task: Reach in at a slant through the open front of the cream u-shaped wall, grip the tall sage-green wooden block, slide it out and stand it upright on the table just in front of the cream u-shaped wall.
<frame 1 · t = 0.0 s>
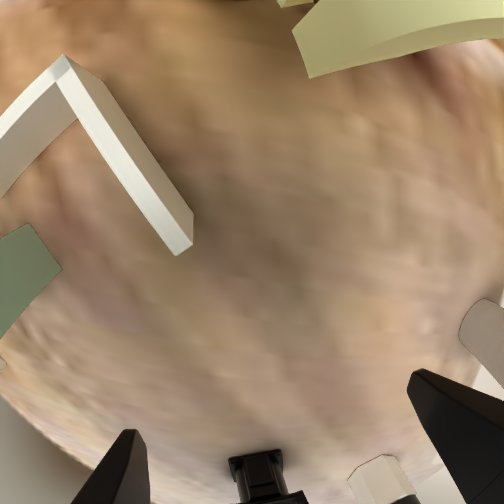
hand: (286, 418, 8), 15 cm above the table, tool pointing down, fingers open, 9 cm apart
jar: (370, 467, 38), on the table
cream u-shaped wall: (29, 262, 19), on the table
coffee cup: (473, 320, 31), on the table
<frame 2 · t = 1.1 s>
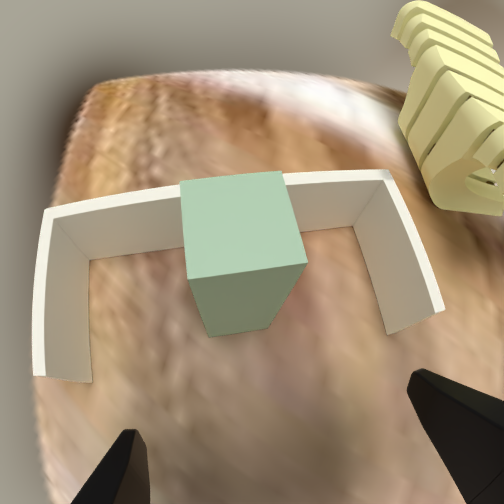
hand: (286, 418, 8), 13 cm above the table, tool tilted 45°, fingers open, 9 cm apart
cream u-shaped wall: (233, 304, 23), on the table
block: (235, 275, 18), in the cream u-shaped wall
slatted curved stool: (448, 171, 33), on the table
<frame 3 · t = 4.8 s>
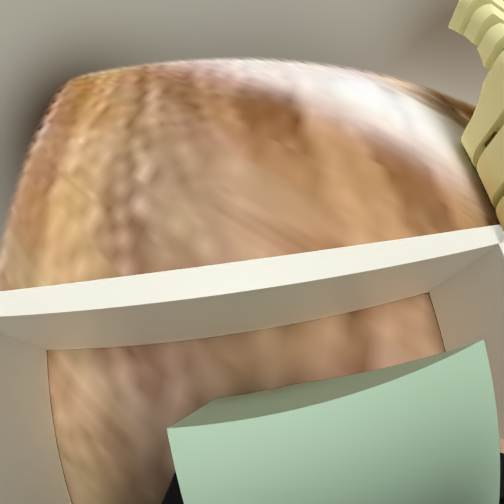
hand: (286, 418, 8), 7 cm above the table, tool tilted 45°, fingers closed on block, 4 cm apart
cream u-shaped wall: (267, 432, 13), on the table
block: (291, 456, 8), in the cream u-shaped wall, touching gripper
when the fingers open (8 cm above the table, at t = 8.3 s): block drops 1 cm, on the table.
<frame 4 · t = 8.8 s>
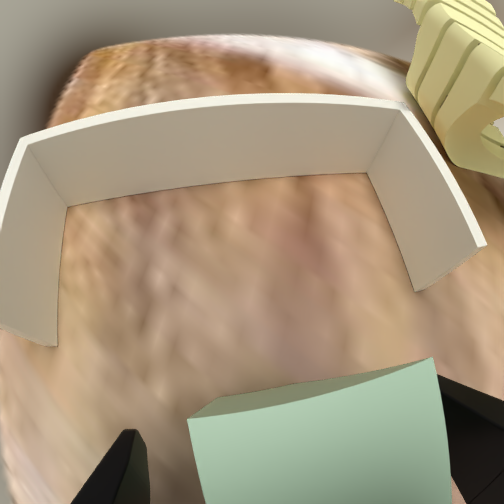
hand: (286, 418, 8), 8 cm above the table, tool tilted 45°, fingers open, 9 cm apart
cream u-shaped wall: (230, 250, 19), on the table
block: (284, 448, 9), on the table
slatted curved stool: (460, 133, 29), on the table
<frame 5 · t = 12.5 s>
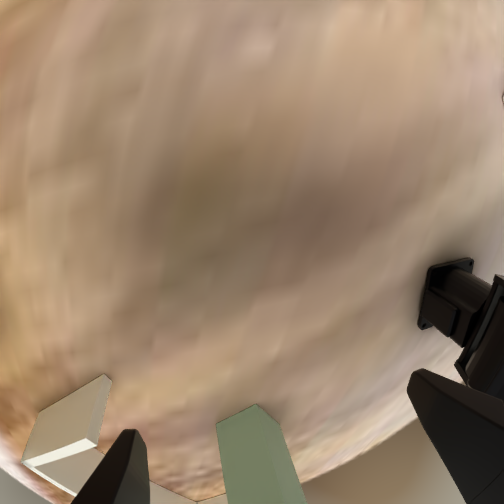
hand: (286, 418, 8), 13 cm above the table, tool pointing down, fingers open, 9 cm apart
cream u-shaped wall: (165, 460, 26), on the table
block: (261, 476, 20), on the table
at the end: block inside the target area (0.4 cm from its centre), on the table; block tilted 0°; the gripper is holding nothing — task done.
